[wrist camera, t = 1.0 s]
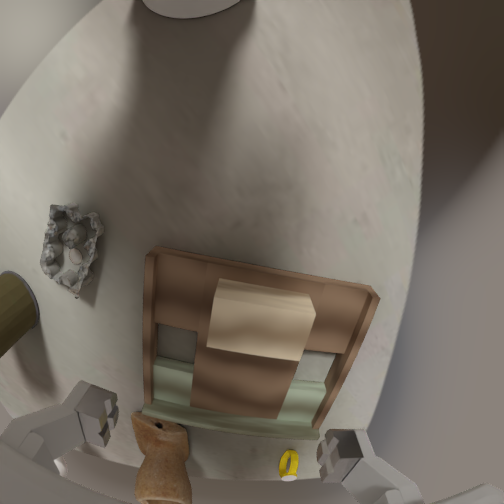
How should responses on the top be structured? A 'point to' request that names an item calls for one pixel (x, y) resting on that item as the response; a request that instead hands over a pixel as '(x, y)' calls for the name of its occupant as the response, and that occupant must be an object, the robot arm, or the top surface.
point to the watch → (293, 466)
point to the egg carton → (71, 239)
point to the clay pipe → (161, 461)
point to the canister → (15, 310)
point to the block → (260, 320)
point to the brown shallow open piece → (240, 364)
